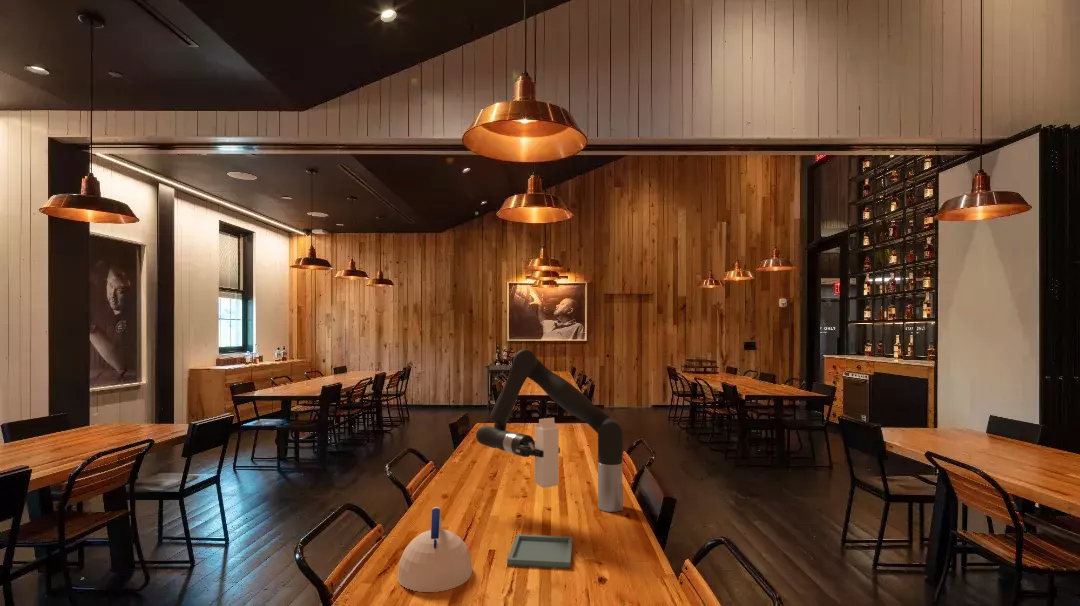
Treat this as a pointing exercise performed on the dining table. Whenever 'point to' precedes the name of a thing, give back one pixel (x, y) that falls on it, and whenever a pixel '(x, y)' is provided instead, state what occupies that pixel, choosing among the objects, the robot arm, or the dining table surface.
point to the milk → (547, 453)
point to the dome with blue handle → (435, 560)
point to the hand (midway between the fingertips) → (551, 452)
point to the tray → (541, 551)
